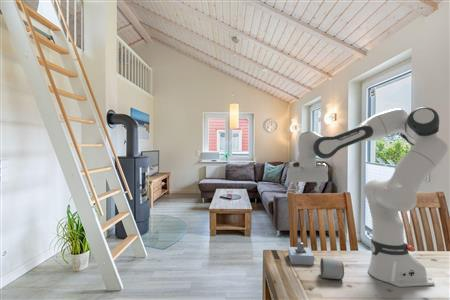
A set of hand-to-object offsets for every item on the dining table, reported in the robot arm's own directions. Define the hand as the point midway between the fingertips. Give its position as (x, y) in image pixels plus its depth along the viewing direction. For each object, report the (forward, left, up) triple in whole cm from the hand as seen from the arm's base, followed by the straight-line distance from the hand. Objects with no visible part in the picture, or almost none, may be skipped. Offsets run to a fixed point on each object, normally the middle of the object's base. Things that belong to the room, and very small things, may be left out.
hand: (306, 190), depth 133 cm
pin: (+5, +10, -31) cm, 33 cm away
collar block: (+5, +10, -31) cm, 33 cm away
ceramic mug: (-4, +25, -31) cm, 40 cm away
